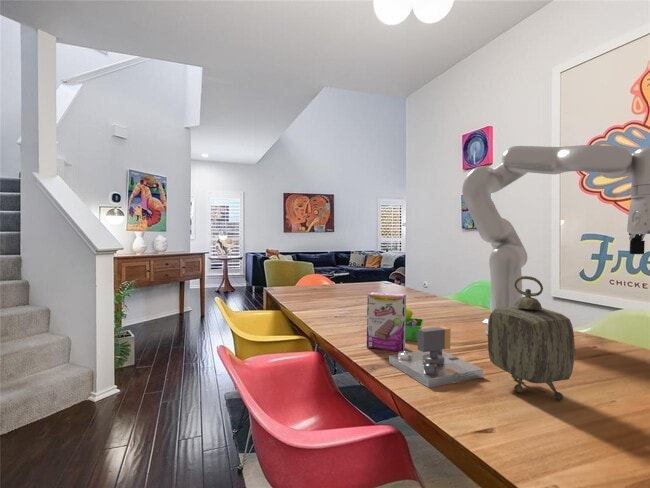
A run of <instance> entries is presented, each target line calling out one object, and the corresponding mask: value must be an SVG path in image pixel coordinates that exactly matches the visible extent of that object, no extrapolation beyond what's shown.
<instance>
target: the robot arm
mask: <svg viewBox="0 0 650 488" xmlns="http://www.w3.org/2000/svg"><path fill="white" fill-rule="evenodd" d="M568 172H587V173H599V175H601V176H602V177H604V178H606V179H609V180H612V179H613V180H614V179H620V178H626V177H630V176H631V190H630V199H631V200H630V204H629V208H628V216H627V227H626V230H627V234H628V235H629V237H628V239H629V254H630V255H644V254H645V246H646V244H645V243H646V240H644V238H645V237H646V235H650V146H649V145H648V146H644V147H641V148H638V149H636V150H635V151H633V152H631V151H630V150H628V149H627V148H626V147H622V146H618V145H607V144H606V145H602V144H600V145H599V144H580V145H570V146H568V145H566V146H537V145H514V146H510V147H508V148H507V149H506V150H505V151H504V152H503V154H502V157H501V163H500V164H498V165H497V166H494V167H493V168H492V167H490V166H484V165H481V166H476V167H475V168H472V170H470V171H469V172H468V174H467V175H466V177H465V179H464V180H463V184H462V199H463V201H464V203H465V206H466V208H467V210H468V212H469V215H470V217H471V219H472V221H473V223H474V226H475V227H476V229H477V231H478V232H477V233H478V235H479V236H480V238H481V239H482V240H483V241H485V242H486V243H489V244H490V245H491V247H492V249H493V250H492V251H491V253H490V255H489V261H488V262H489V263H488V264H489V271H490V314H491V313H492V312H493V311H494V309H497V308H506V307H515V306H514V305H515V303H516V301H517V300H518V299H519V298H521V297H523V294H521V293H519V292H518V291H517V290H516V288H515V281H516V280H517V279H518V278H519V277H521V276H523V275H522V274H523V273H522V268H523V267H524V266H525V265H526V264H527V261H528V252H527V250H526V248H525V247H524V246H525V245H523V243H522V241H521V238H520V237H519V234H518V233H517V231H516V229H515V227H514V226H513V224H512V223H511V222H510V221H509V220H508V219H506V218H503V217H502V216H501V214H500V212H499V211H498V209H497V207H496V205H495V203H494V201H493V199H492V198H491V196H490V194H495V193H497V192H499V191H500V190H503V189H504V188H506V187H508V186H509V185H511V184H513V183H515V182H516V181H517V180H519V179H521V178H522V177H523V176H525V175H527V174H528V173H529V174H540V175H541V174H542V175H543V174H544V175H560V174H564V173H568ZM517 288H518V289H519V290H521V291H523V279H522V280H520V281H518V283H517ZM490 314H489V315H490ZM488 324H489V318H485V319H484V320H483V321H482V325H486V326H488ZM484 332H485V334H486V335H487V336H488V328H486V329H485V331H484Z"/></svg>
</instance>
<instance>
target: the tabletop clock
mask: <svg viewBox="0 0 650 488" xmlns="http://www.w3.org/2000/svg"><path fill="white" fill-rule="evenodd" d="M520 280H522V281H523V280H530V281H534V282H535V283H537V284H538V285H539V287H540V290H539V291H538V292H534V293H532V290H531V289H529V288H526V289H525V291H523V290H522V291H521V290H519V289H518V288H517V283H518V281H520ZM515 288H516V290H517V291H518V292H519V293H521V294H522V297H521V298H519V299H518V300H517V301H516V303H515V305H514V306H515V307H506V308H497V309H494V311H493V312H492V313H491V314H489V317H488V319H489V324H488V325H487V329H488V335H487V349H488V350H487V351H488V357H489V361H490V362H491V364H493V365H494V366H496V367H497V368H498V369H501V370H502V371H505V372H506V373H509V374H510V375H511V378H512V379H513V380H518V383H517V384H514V390H515V392H517V393H522V392H523V390H524V388H523V386H522V382H523V381H525V382H528V383H532V384H546V385H548V386H549V388H550V389H551V390H552V391H553V398H554V399H555V400H557V401H562V400H563V399H564V395H563V393H562V392H560V391H557V389H556V387H555V385H554V383H553V382H560V381H567V380H570V378H571V376H572V375H573V370H574V364H575V357H576V354H575V353H576V348H575V343H576V342H575V334H574V328H573V324H572V322H571V319H570V318H569V317H567V316H565V315H564V314H562V313H561V312H560V313H559V312H557V311H554V310H551V309H546V308H543V306H542V304H541V302H540V300H538V299H537V298H535V297H537V296H539V295H541V294H542V293H543V292H544V286H543V283H541V281H540V280H539V279H537V278H536V277H534V276H528V275H522V276H521V277H519V278H518V279H517V280H516V281H515Z"/></svg>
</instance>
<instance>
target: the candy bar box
mask: <svg viewBox="0 0 650 488" xmlns="http://www.w3.org/2000/svg"><path fill="white" fill-rule="evenodd" d="M406 307H407V294H403V293H402V294H401V293H388V292H376V291H375V292H373V291H372V292H370V293H368V294H367V312H366V314H367V315H366V348H367V349H377V350H384V351H390V352H391V351H393V352H400V351H405V348H406V340H405V324H406Z"/></svg>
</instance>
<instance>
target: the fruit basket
mask: <svg viewBox="0 0 650 488" xmlns="http://www.w3.org/2000/svg"><path fill="white" fill-rule="evenodd" d="M413 314H414V312H413V310H411V309H410V307H407V306H406V324H405V341H415V342H418V329H422V327H423V323H424V322H423V321H424V319H422V318H414V317H412V316H413Z"/></svg>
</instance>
